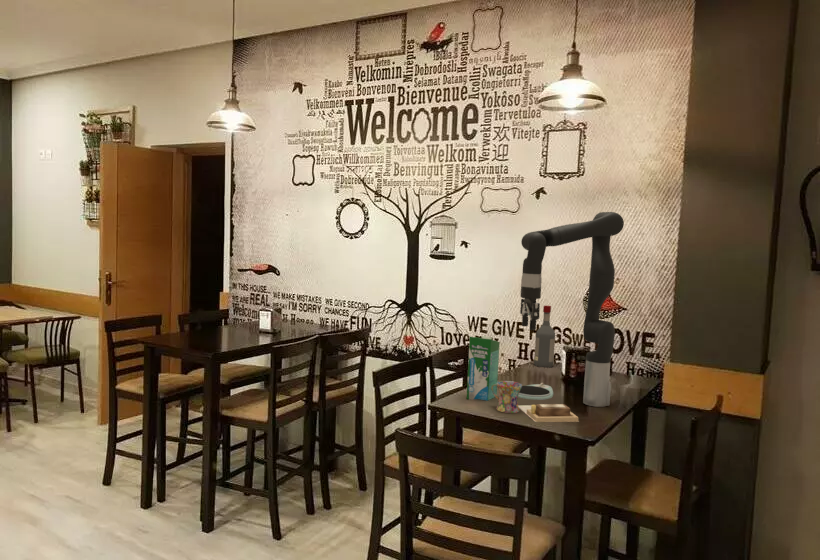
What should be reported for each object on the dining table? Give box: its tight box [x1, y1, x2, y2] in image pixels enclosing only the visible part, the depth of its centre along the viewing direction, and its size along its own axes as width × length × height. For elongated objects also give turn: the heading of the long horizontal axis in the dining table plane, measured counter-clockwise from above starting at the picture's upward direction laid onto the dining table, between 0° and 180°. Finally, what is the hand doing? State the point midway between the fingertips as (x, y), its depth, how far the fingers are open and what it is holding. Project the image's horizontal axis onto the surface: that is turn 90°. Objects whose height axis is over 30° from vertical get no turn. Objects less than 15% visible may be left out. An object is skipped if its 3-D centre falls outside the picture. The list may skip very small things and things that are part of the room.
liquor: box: [533, 305, 556, 369], centre depth 317 cm, size 9×9×30 cm
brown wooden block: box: [534, 403, 571, 417], centre depth 227 cm, size 11×6×4 cm, turn 99°
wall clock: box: [518, 382, 554, 401], centre depth 262 cm, size 18×4×25 cm
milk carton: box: [466, 335, 500, 401], centre depth 251 cm, size 9×9×25 cm
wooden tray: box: [518, 404, 580, 423], centre depth 232 cm, size 16×20×6 cm
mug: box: [491, 380, 523, 414], centre depth 235 cm, size 12×9×11 cm
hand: (528, 328), depth 242 cm, fingers open, 8 cm apart
